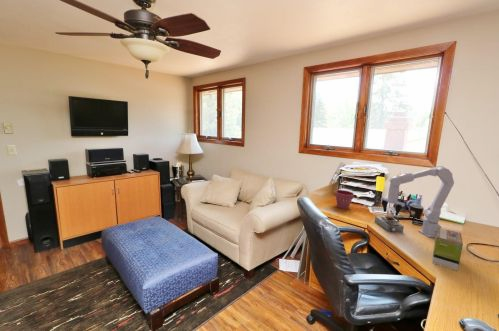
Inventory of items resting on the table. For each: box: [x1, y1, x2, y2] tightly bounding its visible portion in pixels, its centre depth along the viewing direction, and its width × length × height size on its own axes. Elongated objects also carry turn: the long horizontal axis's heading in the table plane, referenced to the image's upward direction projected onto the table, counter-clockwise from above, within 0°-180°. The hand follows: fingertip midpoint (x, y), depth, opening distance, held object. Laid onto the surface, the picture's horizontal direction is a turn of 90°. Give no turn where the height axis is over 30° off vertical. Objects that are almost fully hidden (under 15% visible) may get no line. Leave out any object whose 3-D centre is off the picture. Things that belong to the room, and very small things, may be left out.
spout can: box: [386, 210, 395, 220], centre depth 158 cm, size 4×4×7 cm
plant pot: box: [334, 189, 355, 210], centre depth 193 cm, size 14×14×13 cm
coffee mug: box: [404, 203, 425, 220], centre depth 174 cm, size 12×9×10 cm
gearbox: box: [374, 215, 404, 233], centre depth 157 cm, size 18×10×6 cm, turn 179°
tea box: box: [431, 227, 464, 272], centre depth 118 cm, size 15×10×15 cm
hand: (390, 213), depth 158 cm, fingers open, 7 cm apart
